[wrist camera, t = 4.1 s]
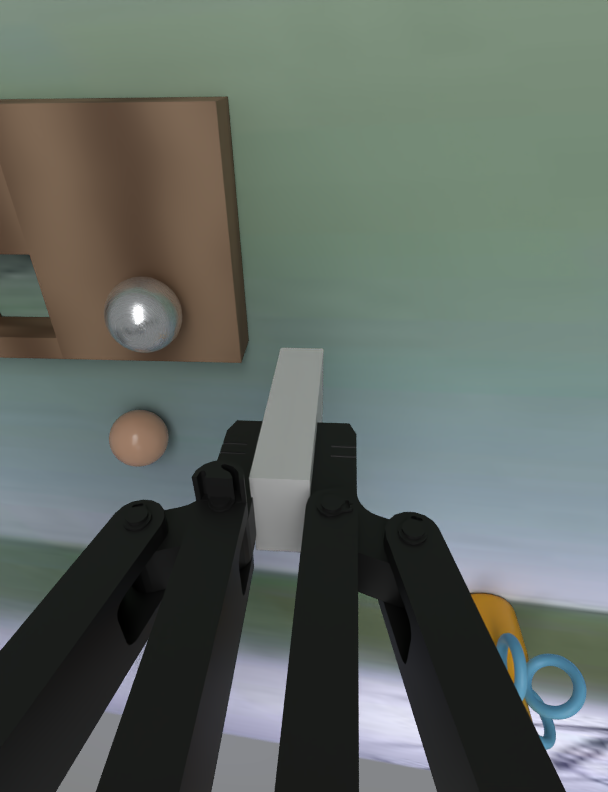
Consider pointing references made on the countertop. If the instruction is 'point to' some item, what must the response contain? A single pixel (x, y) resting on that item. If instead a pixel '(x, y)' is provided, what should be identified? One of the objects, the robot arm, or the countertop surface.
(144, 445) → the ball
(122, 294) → the steel ball
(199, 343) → the hole plate
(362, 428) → the countertop surface
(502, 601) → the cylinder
